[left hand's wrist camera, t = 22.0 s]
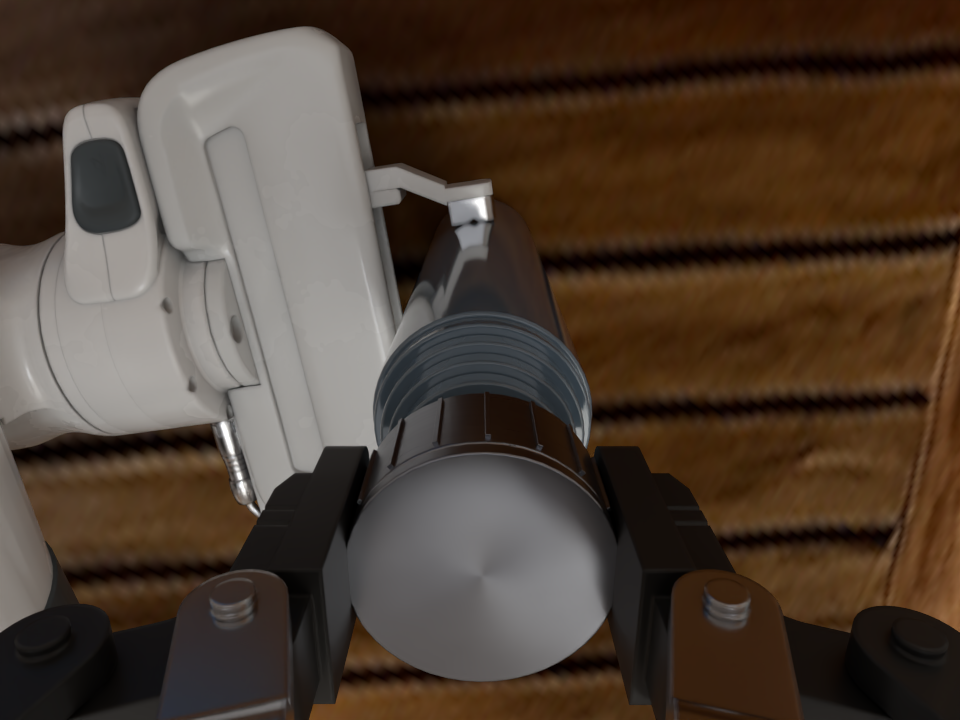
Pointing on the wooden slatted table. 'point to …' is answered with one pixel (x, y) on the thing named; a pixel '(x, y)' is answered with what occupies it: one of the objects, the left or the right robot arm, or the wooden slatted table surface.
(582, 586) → the cap
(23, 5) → the wooden slatted table surface
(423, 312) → the bottle
